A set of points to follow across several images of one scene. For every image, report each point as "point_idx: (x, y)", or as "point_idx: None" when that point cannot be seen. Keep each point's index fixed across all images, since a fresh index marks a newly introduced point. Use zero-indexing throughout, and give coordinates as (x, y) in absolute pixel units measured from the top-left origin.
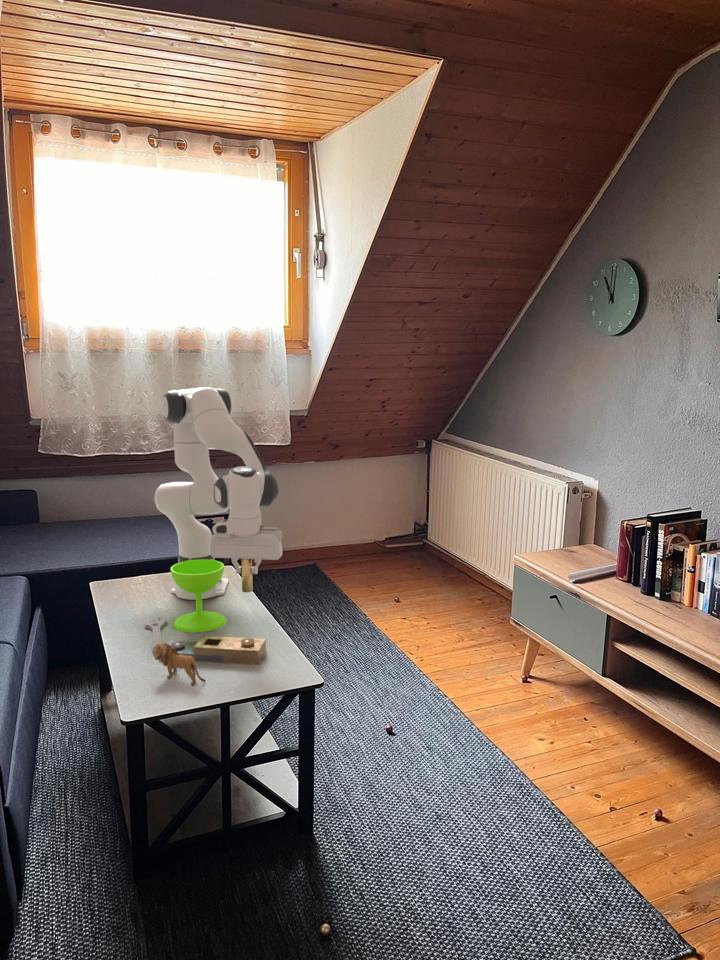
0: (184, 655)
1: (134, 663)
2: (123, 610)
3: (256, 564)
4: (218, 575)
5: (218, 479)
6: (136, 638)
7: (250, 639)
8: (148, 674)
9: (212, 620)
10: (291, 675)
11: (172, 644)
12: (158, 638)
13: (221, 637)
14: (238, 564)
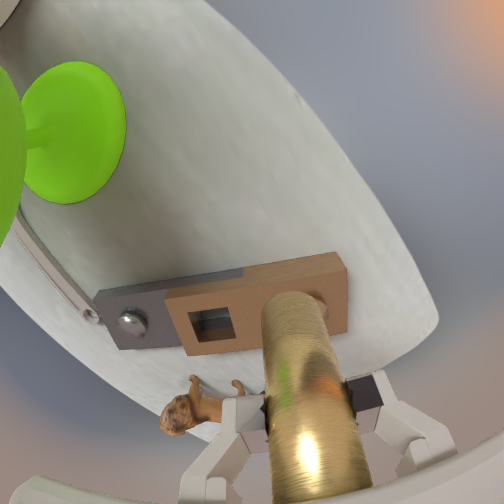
0: (221, 419)
1: (103, 359)
2: None
3: (404, 451)
4: (9, 158)
5: None
6: (22, 269)
7: None
8: (155, 384)
9: (87, 122)
10: (407, 323)
11: (124, 334)
12: (55, 272)
13: (217, 296)
14: (233, 449)
